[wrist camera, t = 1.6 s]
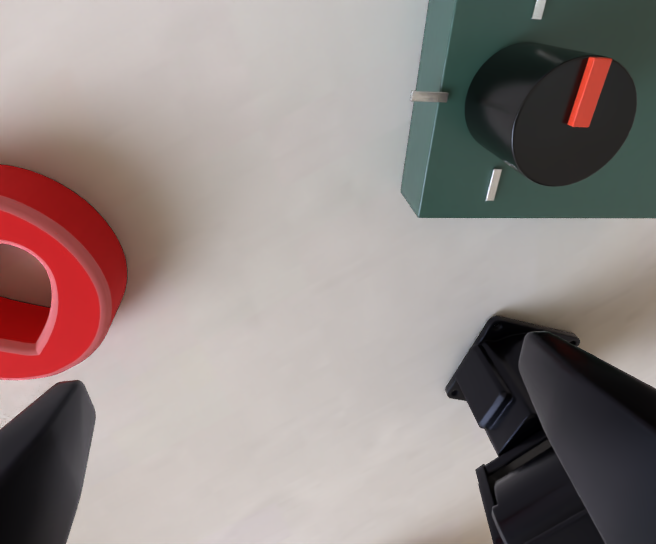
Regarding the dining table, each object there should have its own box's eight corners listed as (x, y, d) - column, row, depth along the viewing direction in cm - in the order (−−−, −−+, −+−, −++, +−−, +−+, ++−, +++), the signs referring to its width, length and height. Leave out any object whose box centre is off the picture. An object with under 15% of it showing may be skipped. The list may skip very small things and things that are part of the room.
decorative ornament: (54, 368, 25) (29, 413, 23) (-143, 262, 21) (-203, 302, 18) (168, 262, 23) (156, 298, 20) (-29, 115, 18) (-78, 137, 16)
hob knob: (547, 152, 19) (615, 191, 15) (453, 150, 18) (501, 190, 15) (580, 44, 17) (668, 60, 13) (476, 38, 16) (538, 53, 13)
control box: (623, 194, 24) (668, 220, 21) (378, 192, 22) (393, 220, 20) (718, -36, 19) (794, -40, 16) (409, -63, 17) (436, -73, 14)
